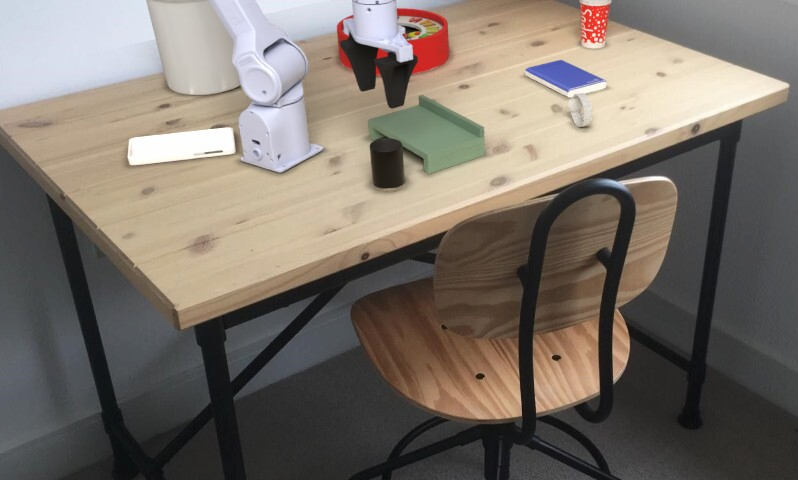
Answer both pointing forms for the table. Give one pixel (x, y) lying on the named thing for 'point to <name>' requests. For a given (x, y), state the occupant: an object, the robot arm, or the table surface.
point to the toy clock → (414, 38)
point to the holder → (387, 165)
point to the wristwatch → (576, 105)
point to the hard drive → (565, 78)
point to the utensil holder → (193, 47)
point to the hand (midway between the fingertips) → (381, 97)
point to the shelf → (432, 134)
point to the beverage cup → (594, 22)
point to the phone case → (180, 146)
